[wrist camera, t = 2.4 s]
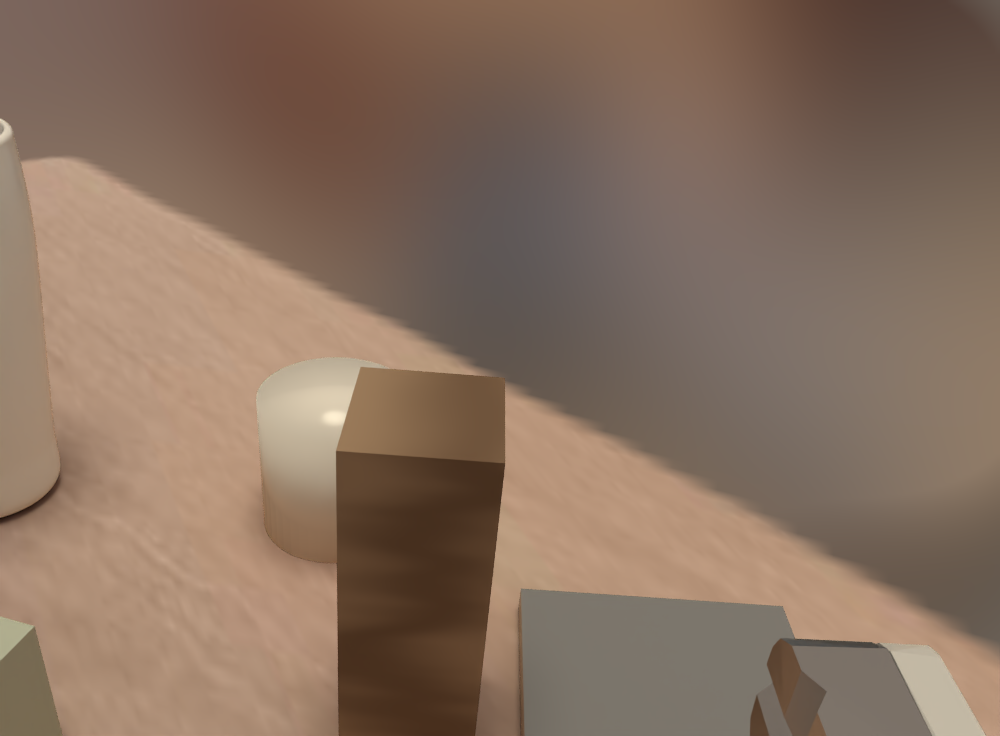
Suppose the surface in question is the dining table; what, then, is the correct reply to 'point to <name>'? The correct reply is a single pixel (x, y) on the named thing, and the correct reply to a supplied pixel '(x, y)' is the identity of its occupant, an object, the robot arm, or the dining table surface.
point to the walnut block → (416, 549)
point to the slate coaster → (642, 664)
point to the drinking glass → (22, 348)
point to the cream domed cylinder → (304, 452)
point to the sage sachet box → (24, 684)
